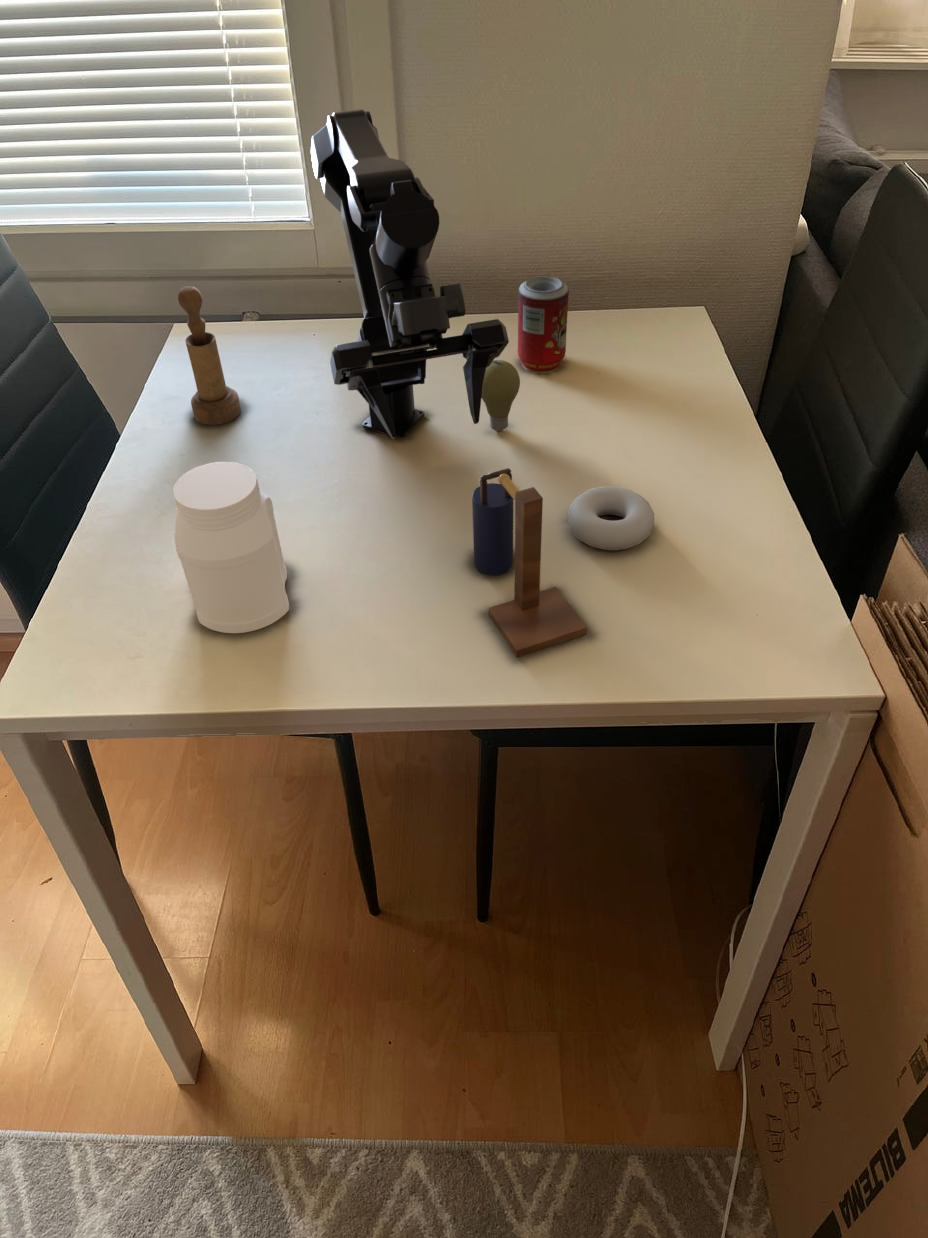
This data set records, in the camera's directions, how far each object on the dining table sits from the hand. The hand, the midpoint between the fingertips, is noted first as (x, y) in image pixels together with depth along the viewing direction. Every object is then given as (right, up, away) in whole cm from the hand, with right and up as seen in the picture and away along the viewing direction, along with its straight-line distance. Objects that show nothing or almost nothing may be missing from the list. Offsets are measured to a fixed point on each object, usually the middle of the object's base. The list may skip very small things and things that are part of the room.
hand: (435, 430), depth 99 cm
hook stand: (+10, -19, -1) cm, 22 cm away
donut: (+20, -10, +9) cm, 24 cm away
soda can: (+15, +17, +38) cm, 44 cm away
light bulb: (+8, +5, +25) cm, 27 cm away
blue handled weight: (+6, -14, +5) cm, 16 cm away
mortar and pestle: (-32, +9, +31) cm, 45 cm away
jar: (-21, -18, +2) cm, 28 cm away
